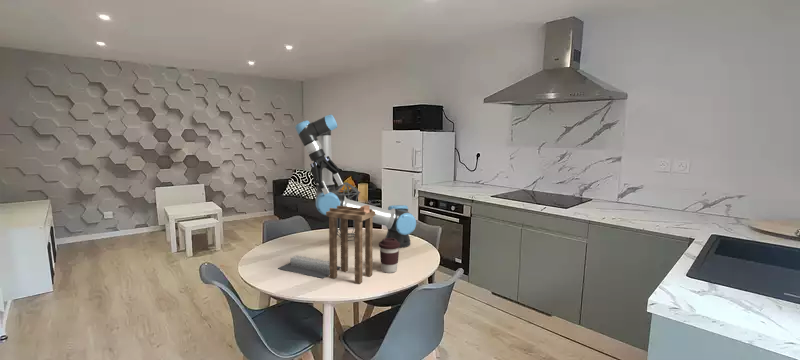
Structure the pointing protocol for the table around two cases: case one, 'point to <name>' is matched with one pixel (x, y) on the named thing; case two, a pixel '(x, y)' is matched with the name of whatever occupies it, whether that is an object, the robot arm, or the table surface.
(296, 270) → the mat
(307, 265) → the bar
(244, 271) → the table surface
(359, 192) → the geometric lantern
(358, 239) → the stand
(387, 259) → the coffee cup
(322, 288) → the table surface
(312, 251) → the table surface
